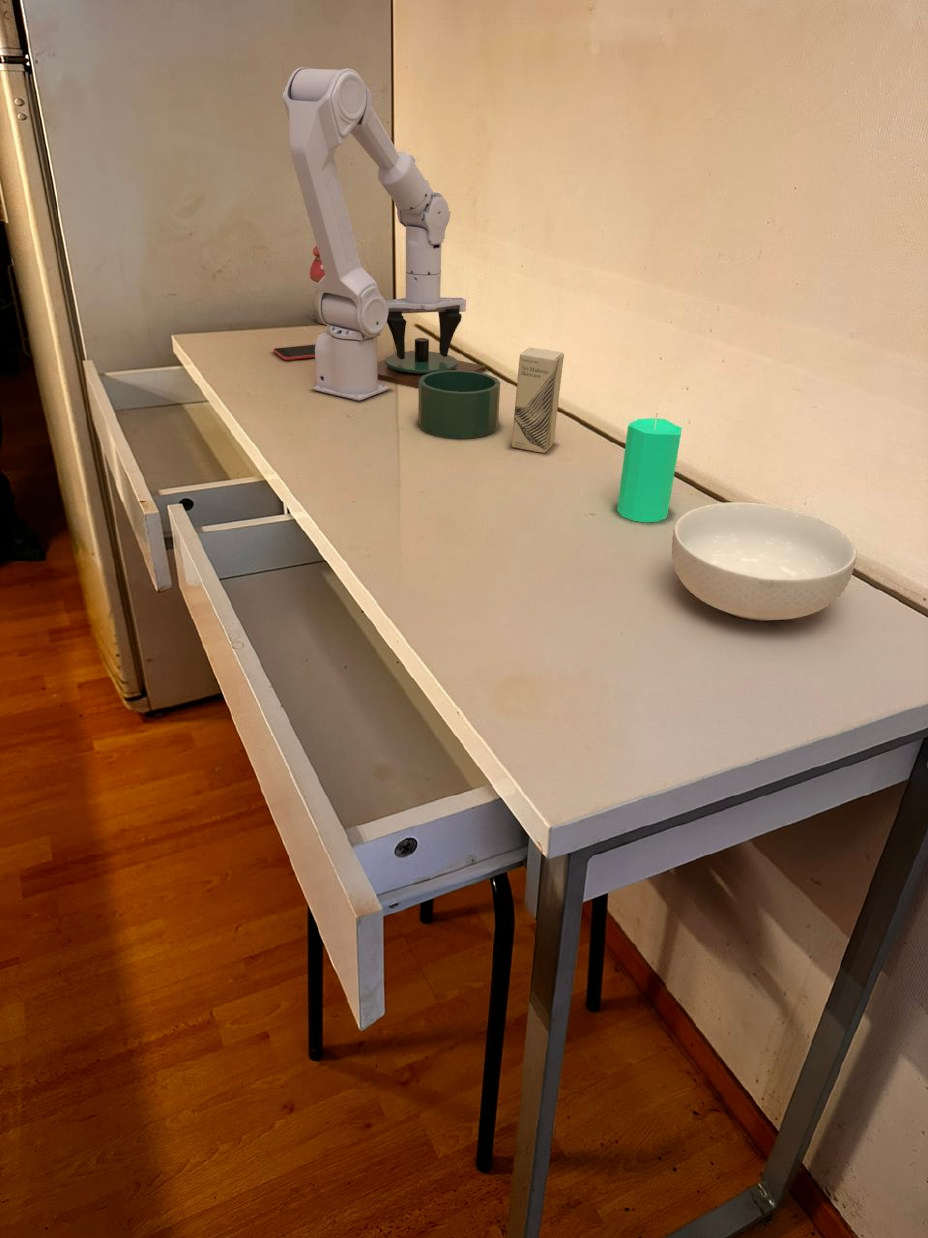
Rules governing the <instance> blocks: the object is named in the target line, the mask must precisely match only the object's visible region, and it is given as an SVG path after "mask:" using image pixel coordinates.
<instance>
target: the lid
mask: <svg viewBox="0 0 928 1238" xmlns="http://www.w3.org/2000/svg"><path fill="white" fill-rule="evenodd" d="M409 351H410V352H409ZM409 351H405V359H399V358H398V357H397V352H396V353H392V354H390V355H388V356H386V357H385V359H384V360H385V363H386V365H387V366H388V367H390V368H392V369H395V370H399V371H404V372H408V373H416V374H429V373H432V372H438V371H446V370H452V369H454V368H456V367H457V365H458V361H457V360H458V359H457V358H455V356H452V355H450V354H448V355H447V357H443V356H442V355H441V354H440V352H436V351H430V338H429V339H428V338H426V337H417V338H415V339H414V350H409Z"/></svg>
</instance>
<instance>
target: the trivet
mask: <svg viewBox="0 0 928 1238" xmlns="http://www.w3.org/2000/svg"><path fill="white" fill-rule="evenodd" d="M410 351H411V350H409V351H408V352H410ZM385 360H386V359H382V360H380V361H377V369H378V380H381V381H386V382H390V383H396V384H400V385H404V386H409V387H413V388H418V389H419V379H420V378H421V377H422V376H423V375H426V374H416V373H408V372H404V371H399V370H395V369H392V368H390V367H388V366H387V365H386V363H385ZM457 361H458V365H457V367H456V368H454V369H452V370H463V371H474V372H479V373H484V372H486V370H487V365H483V364H480V363H479V364H478V363H475V362H468V361H464V360H459V359H457Z"/></svg>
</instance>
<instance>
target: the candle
mask: <svg viewBox="0 0 928 1238" xmlns="http://www.w3.org/2000/svg"><path fill="white" fill-rule="evenodd" d="M655 413H656V415H655V418H652V417H651V418H650V417H649V418H638V419H635V420H633V421H631V422H629V423H628V425H627V430H626V431H627V432H626V440H625V446H624V453H623V454H624V455H623V461H622V462H623V463H622V468H621V475H620V483H619V484H620V485H619V492H618V498H617V499H618V500H617V505H616V512H618V514H619V515H620V516H621V517H623V518H625V519H628V520H630V521H634V522H640V523H659V522H662V521H663V520H665V519H667V517H668V514H669V509H670V502H671V496H672V491H673V485H674V484H673V483H674V478H675V473H676V467H677V460H678V455H679V447H680V441H681V436H682V429H683V427H681V426H679V425H676V424H675V423H672V422H671V421H669V420H668V419H666V418H658V414H659V412H655Z"/></svg>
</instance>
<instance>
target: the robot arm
mask: <svg viewBox="0 0 928 1238" xmlns="http://www.w3.org/2000/svg"><path fill="white" fill-rule="evenodd" d="M281 98H282V101H283V103H284V108H285V111H286V115H287V118H288V127H289V129H288V132H289V134H288V135H289V136H288V138H289V143H288V144H289V153H290V156H291V159H292V163H293V166H294V171H295V174H296V178H297V180H298V184H299V187H300V191H301V194H302V195H301V196H302V199H303V202H304V205H305V209H306V212H307V216H308V219H309V223H310V226H311V230H312V234H313V236H314V241H315V244H316V246H317V248H318V251H319V255H320V258H321V262H322V265H323V269H324V272H325V275H324V276H323V277H322V279H321V280H320V281H319V282H317V284H316V285H315V288H316V290H317V291H318V297H319V302H318V311H319V316H320V318H321V320H322V322H323V323H324V324H325V326H326V330H323V331H322V332H320V334H319V335H318V337H317V339H316V341H315V344H316V345H315V344H314V345H315V357H314V359H315V360H314V361H315V364H314V365H315V381H316V382H315V384H316V385H315V386H313V388H312V390H313V391H317V392H321V393H324V394H330V395H332V396H338V397H342V398H346V399H350V400H354V401H363V400H365V399H368V398H370V397H373V396H376V395H379V394H381V393H383V392H386V391H389V390H390V387H389V386H388V385H384V384H379V382H378V381H379V379H378V369H377V362H378V337H381V333H382V332H383V330H384V328H385V327H386V326H388V328H389V330H390V333H391V336H392V339H393V342H394V343H393V344H394V346H395V351H396V353H397V357H398V358H399V359H405V352H406V344H405V343H406V342H405V339H406V338H405V337H406V328H407V320H406V319H405V318H404V315H403V314H422V313H425V314H426V313H438V322H439V343H438V345H439V347H438V349H439V353H440V354H441V355H442V356H443V357H447V355H449V351H450V346H451V342H452V341H453V337H454V334H455V333H456V330H457V328H458V327H459V325H460V323H461V321H462V318H463V317H462V314H461V313H466V311H467V310H466V309H467V308H466V307H467V300H466V299H465V298H463V297H446V296H445V297H443V296H441V286H442V285H441V284H442V282H441V280H442V244H443V243H444V240H445V239H446V229H447V226H448V225H449V222H450V220H451V219H450V218H451V211H450V210H449V204H448V201H447V199H445V198H444V196H443V195H442V194H441V193H439V192H436V191H433V189H432V187H431V186H430V182H429V181H428V180H427V179H426V178H425V177H424V175H423V173H422V172H421V171H420V169H419V167H418V166H417V164H416V159H415V157H414V156H413V155H412V154H409V153H407V152H405V151H398V150H397V149H396V146H395V145H394V143H393V141H392V139H391V138H390V136H389V134H388V132H387V131H386V129H385V126H384V125H383V124H382V122H381V120H380V119H379V116H378V115H377V113H376V112H375V110H374V108H373V106H372V92H371V90H370V88H368V86H367V85H366V84H365V81H364V80H363V78H362V77H361V75H360V73H358V72H357V71H356V70H355V69H352V68H348V67H347V68H342V69H332V68H331V69H328V68H311V67H305V66H301V67H298V68H296V69H294V70H293V72H292V73H291V75H290V76H289V78H288V80H287V83H286V85H285V88H284V90H283V93H282V97H281ZM350 134H351V135H352V137H354V139H355V140H356V141H357V143H358V144H359V145H360V146H361V148H362V149H363V150H364V151H365V152H366V153H367V155H368V156H369V158H371V160H372V161H373V162H374V163H375V165H377V167H378V169H377V179H378V181H379V183H380V184H381V185H382V187H383V189H384V190H385V191H386V193H387V194H388V195H389V197H390V198H391V199H392V201H393V203H394V206H395V207H396V213H397V220H398V222H399V223H400V225H402V226H403V227H404V228H405V297H403V298H395V299H394V298H393V299H389V300H388V299H387V300H386V299H385V297H384V296H383V295H382V294H381V292H380V290H379V287H378V282H377V281H376V280H375V279H374V278H373V276H371V275H370V274H369V273H368V272H367V271H366V270H365V269H364V268H363V266H362V262H361V259H360V255H359V251H358V247H357V243H356V239H355V235H354V232H353V231H354V230H353V227H352V223H351V218H350V215H349V211H348V208H347V207H348V206H347V204H346V199H345V196H344V192H343V187H342V184H341V179H340V177H339V176H340V175H339V172H338V168H337V165H336V160H335V153H336V151H337V149H338V147H340V146H342V144H343V143H344V142H345V141H346V139H347V138H348V136H350ZM324 324H323V325H324Z"/></svg>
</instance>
